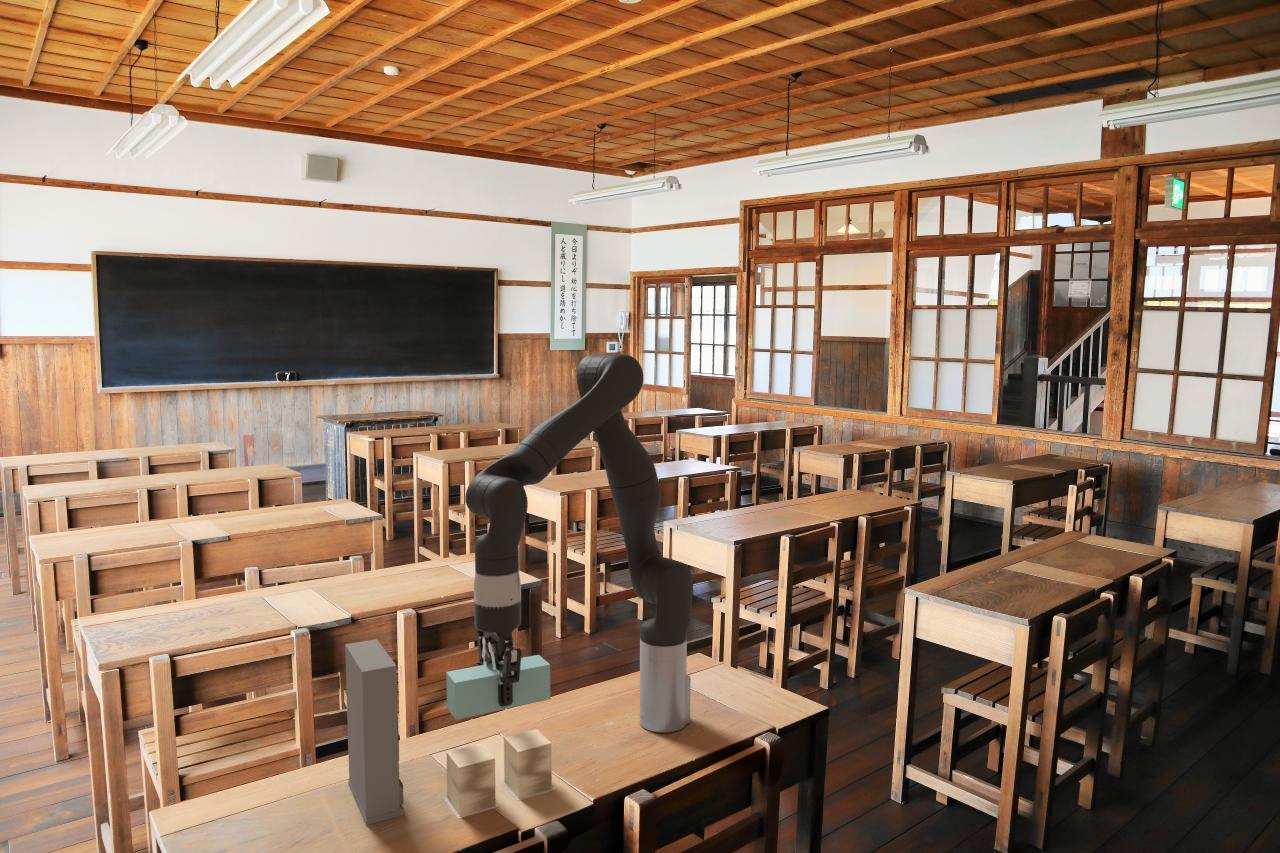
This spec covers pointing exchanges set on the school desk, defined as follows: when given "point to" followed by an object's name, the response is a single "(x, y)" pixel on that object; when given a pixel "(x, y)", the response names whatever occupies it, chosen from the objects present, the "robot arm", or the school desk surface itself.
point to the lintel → (495, 687)
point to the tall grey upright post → (373, 731)
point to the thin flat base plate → (496, 802)
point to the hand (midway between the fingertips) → (498, 698)
